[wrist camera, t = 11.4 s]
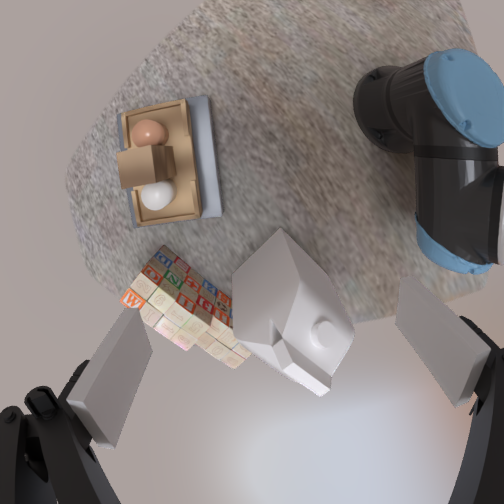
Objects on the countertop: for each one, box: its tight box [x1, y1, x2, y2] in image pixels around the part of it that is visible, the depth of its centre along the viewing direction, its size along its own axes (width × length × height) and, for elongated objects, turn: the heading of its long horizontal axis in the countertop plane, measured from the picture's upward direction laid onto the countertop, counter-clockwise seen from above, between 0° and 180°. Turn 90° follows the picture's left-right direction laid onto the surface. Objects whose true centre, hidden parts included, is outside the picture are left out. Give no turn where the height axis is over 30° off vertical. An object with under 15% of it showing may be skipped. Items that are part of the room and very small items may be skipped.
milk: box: [232, 227, 355, 396], centre depth 39 cm, size 12×12×26 cm
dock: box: [117, 95, 224, 228], centre depth 43 cm, size 14×18×4 cm
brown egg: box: [132, 119, 169, 147], centre depth 34 cm, size 4×4×4 cm
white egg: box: [141, 178, 177, 210], centre depth 36 cm, size 4×4×4 cm
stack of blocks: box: [120, 245, 252, 369], centre depth 46 cm, size 21×6×12 cm, turn 48°
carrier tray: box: [116, 99, 203, 227], centre depth 35 cm, size 16×9×13 cm, turn 6°
